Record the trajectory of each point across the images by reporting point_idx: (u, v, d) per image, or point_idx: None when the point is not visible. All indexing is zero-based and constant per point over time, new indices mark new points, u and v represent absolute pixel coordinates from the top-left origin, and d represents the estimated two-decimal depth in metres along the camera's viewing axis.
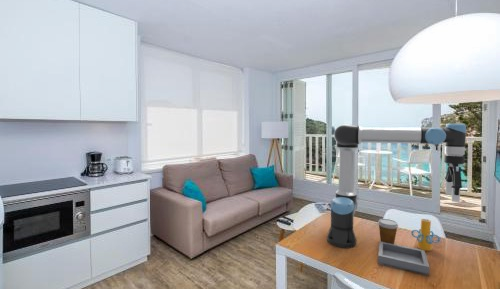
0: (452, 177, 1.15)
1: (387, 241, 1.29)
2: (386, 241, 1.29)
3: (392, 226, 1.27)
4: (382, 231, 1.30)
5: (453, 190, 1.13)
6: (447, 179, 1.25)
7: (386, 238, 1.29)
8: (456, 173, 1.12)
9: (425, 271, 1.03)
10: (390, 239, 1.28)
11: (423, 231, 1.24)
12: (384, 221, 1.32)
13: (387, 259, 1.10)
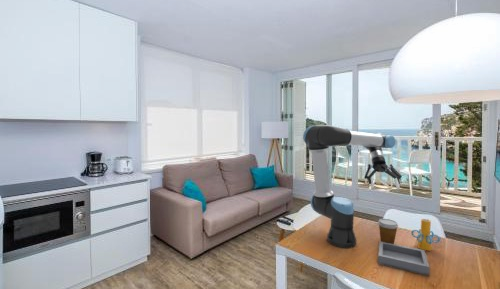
0: (390, 171, 1.46)
1: (387, 241, 1.29)
2: (386, 241, 1.29)
3: (392, 226, 1.27)
4: (382, 231, 1.30)
5: (397, 180, 1.42)
6: (371, 175, 1.46)
7: (386, 238, 1.29)
8: None
9: (425, 271, 1.03)
10: (390, 239, 1.28)
11: (423, 231, 1.24)
12: (384, 221, 1.32)
13: (387, 259, 1.10)
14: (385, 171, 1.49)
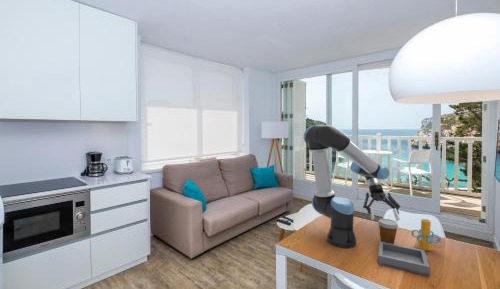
0: (388, 201, 1.43)
1: (387, 241, 1.29)
2: (386, 241, 1.29)
3: (392, 226, 1.27)
4: (382, 231, 1.30)
5: (396, 210, 1.39)
6: (370, 205, 1.42)
7: (386, 238, 1.29)
8: None
9: (425, 271, 1.03)
10: (390, 239, 1.28)
11: (423, 231, 1.24)
12: (384, 221, 1.32)
13: (387, 259, 1.10)
14: (383, 200, 1.46)
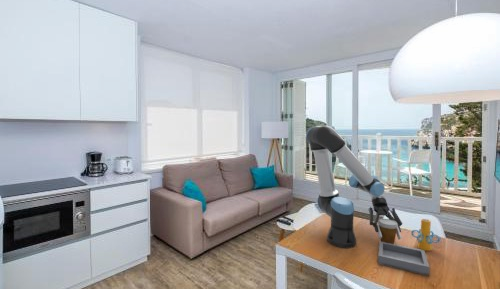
0: (391, 216, 1.35)
1: (387, 241, 1.29)
2: (386, 241, 1.29)
3: (392, 226, 1.27)
4: (382, 231, 1.30)
5: (398, 228, 1.30)
6: (377, 222, 1.33)
7: (386, 238, 1.29)
8: None
9: (425, 271, 1.03)
10: (390, 239, 1.28)
11: (423, 231, 1.24)
12: (384, 221, 1.32)
13: (387, 259, 1.10)
14: None
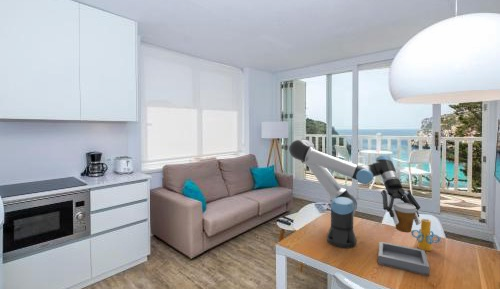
0: (407, 199, 1.19)
1: (404, 227, 1.13)
2: (403, 227, 1.13)
3: (411, 210, 1.11)
4: (398, 216, 1.14)
5: (415, 212, 1.15)
6: (392, 206, 1.17)
7: (402, 224, 1.13)
8: None
9: (425, 271, 1.03)
10: (408, 224, 1.12)
11: (423, 231, 1.24)
12: (400, 205, 1.16)
13: (387, 259, 1.10)
14: (401, 198, 1.22)
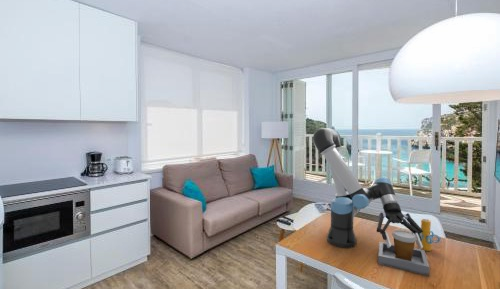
0: (408, 223, 1.17)
1: (403, 257, 1.11)
2: (402, 257, 1.11)
3: (410, 239, 1.09)
4: (397, 245, 1.12)
5: None
6: None
7: (402, 253, 1.11)
8: None
9: (425, 271, 1.03)
10: (407, 254, 1.10)
11: (423, 231, 1.24)
12: (400, 233, 1.15)
13: (387, 259, 1.10)
14: (401, 222, 1.20)
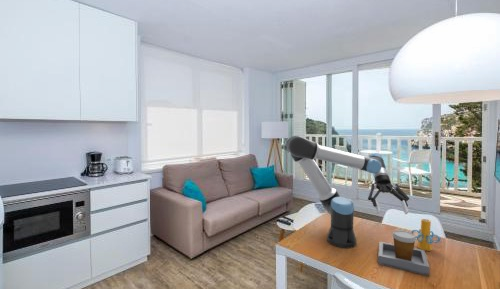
0: (396, 192, 1.30)
1: (403, 257, 1.11)
2: (402, 257, 1.11)
3: (409, 240, 1.09)
4: (397, 245, 1.12)
5: (404, 202, 1.26)
6: None
7: (402, 253, 1.11)
8: None
9: (425, 271, 1.03)
10: (407, 254, 1.10)
11: (423, 231, 1.24)
12: (399, 233, 1.15)
13: (387, 259, 1.10)
14: (390, 191, 1.33)
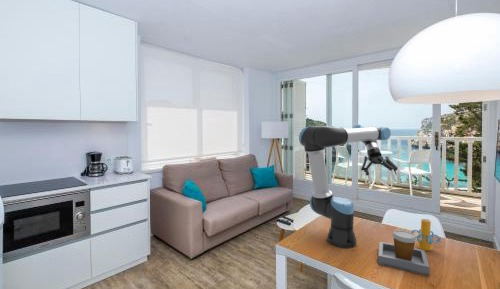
0: (386, 163, 1.45)
1: (404, 257, 1.11)
2: (402, 257, 1.11)
3: (410, 240, 1.09)
4: (397, 245, 1.12)
5: (393, 171, 1.42)
6: (368, 167, 1.45)
7: (402, 253, 1.11)
8: None
9: (425, 271, 1.03)
10: (407, 254, 1.10)
11: (423, 231, 1.24)
12: (400, 233, 1.15)
13: (387, 259, 1.10)
14: (381, 163, 1.49)
